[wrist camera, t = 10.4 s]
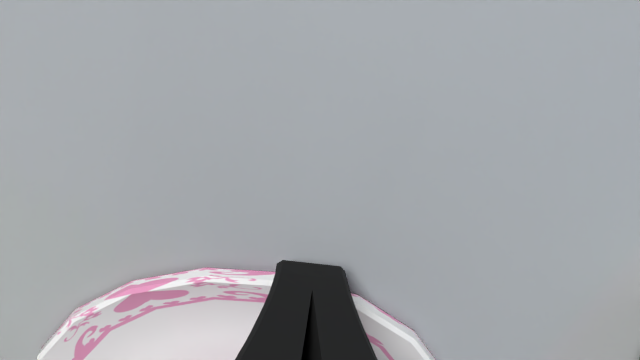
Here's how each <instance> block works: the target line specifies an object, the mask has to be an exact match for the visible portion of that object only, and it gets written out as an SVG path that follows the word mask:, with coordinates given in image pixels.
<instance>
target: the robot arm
mask: <svg viewBox="0 0 640 360" xmlns="http://www.w3.org/2000/svg"><path fill="white" fill-rule="evenodd" d="M235 360H378V359H377V357H376V355H375V353H374V350H373V348H372V346H371V344H370V341H369V339H368V337H367V335H366V332H365V330H364V328H363V325H362V323H361V320H360V318H359V315H358V312H357V309H356V307H355V304H354V301H353V298H352V295H351V292H350V289H349V286H348V282H347V278H346V274H345V271H344V270H343V269H342V268H341V267H340V266H331V265H322V264H313V263H304V262H295V261H286V260H282V261H281V262H279V263H277V266H276V272H275V276H274V279H273V283H272V286H271V288H270V291H269V294H268V296H267V298H266V301H265V303H264V306H263V308H262V310H261V312H260V314H259V316H258V318H257V320H256V322H255V324H254V326H253V328H252V330H251V332H250V334H249V336H248V338H247V340H246V341H245V343H244V345H243V347H242V348H241V350H240V352H239V353H238V355H237V357H236V358H235Z"/></svg>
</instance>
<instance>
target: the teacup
mask: <svg viewBox="0 0 640 360" xmlns="http://www.w3.org/2000/svg"><path fill="white" fill-rule="evenodd" d="M274 276H275V272H267V271H251V270H236V269H221V268H201V269H195V270H190V271H184V272H178V273H173V274H167V275H161V276H156V277H150V278H144V279H139V280H133V281H131V282H129V283H127V284H125V285H123V286H121V287H119V288H117V289H115V290H113V291H111V292H109V293H107V294H105V295H103V296H101V297H99V298H97V299H95V300H93V301H91V302H89V303H87V304H85V305H83V306H81V307H79V308H77V309H75V310H74V311H73V312H72V314H71V315H70V316H69V317H68V318H67V319H66V320H65V322H64V323H63V324H62V325H61V326H60V327H59V328H58V330H57V331H56V332H55V333H54V334H53V335H52V336H51V338H50V339H49V340H48V341H47V342H46V343H45V344H44V346H43V347H42V348H41V350H40V352H39V354H38V357H37V360H235V358H236V357H237V355H238V353H239V352H240V350H241V348H242V347H243V345H244V343H245V341H246V340H247V338H248V336H249V334H250V332H251V330H252V328H253V326H254V324H255V322H256V320H257V318H258V316H259V314H260V312H261V310H262V308H263V306H264V303H265V301H266V298H267V296H268V294H269V291H270V288H271V286H272V283H273V279H274ZM351 295H352V298H353V301H354V304H355V307H356V309H357V312H358V315H359V318H360V320H361V323H362V325H363V328H364V330H365V332H366V335H367V337H368V339H369V341H370V344H371V346H372V348H373V350H374V353H375V355H376V357H377V359H378V360H436V359H435V358H434V357H433V355H432V354H431V353H430V351H429V350H428V349H427V348H426V346H425V345H424V344H423V342H422V341H421V340H420V338H419V337H418V336H417V334H416V333H415V332H414V331H413V330H412V329H411V328H409V327H407V326H406V325H404V324H403V323H401V322H400V321H398V320H396V319H395V318H393V317H392V316H390V315H389V314H387V313H386V312H384V311H382V310H381V309H379V308H378V307H376V306H375V305H373V304H371V303H370V302H368V301H367V300H365V299H364V298H362V297H360V296H359V295H356V294H353V293H351Z"/></svg>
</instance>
